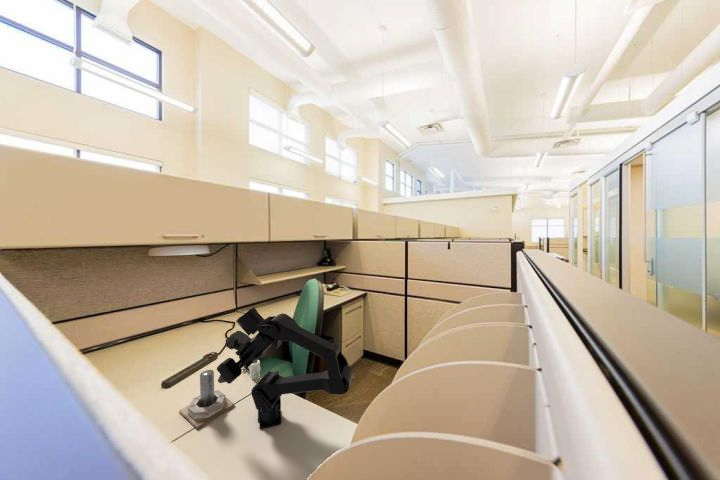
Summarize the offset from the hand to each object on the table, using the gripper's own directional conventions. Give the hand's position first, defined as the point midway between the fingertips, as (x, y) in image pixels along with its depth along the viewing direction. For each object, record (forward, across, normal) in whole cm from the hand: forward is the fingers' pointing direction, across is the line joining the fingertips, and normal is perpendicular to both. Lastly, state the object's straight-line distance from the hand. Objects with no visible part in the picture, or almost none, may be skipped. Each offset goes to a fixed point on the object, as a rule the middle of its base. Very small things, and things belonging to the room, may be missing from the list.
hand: (229, 373), depth 84 cm
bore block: (+15, 0, +4) cm, 16 cm away
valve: (+14, -21, +5) cm, 26 cm away
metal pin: (+15, 0, +3) cm, 15 cm away
